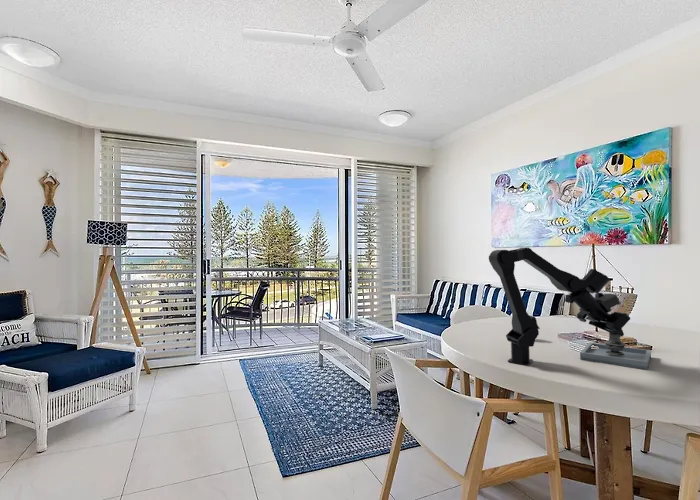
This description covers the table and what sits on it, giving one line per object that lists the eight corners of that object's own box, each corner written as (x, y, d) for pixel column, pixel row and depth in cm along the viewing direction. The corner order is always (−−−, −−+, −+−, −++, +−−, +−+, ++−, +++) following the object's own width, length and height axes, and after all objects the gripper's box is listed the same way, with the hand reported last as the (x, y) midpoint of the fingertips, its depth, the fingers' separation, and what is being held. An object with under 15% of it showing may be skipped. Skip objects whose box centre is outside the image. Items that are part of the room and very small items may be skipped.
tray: (647, 370, 115) (646, 362, 115) (580, 359, 127) (580, 352, 127) (650, 357, 128) (650, 350, 128) (590, 349, 140) (589, 342, 140)
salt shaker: (611, 350, 131) (610, 316, 131) (629, 354, 126) (628, 319, 126) (600, 352, 129) (600, 318, 129) (618, 356, 124) (618, 321, 124)
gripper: (624, 288, 118) (657, 322, 119) (584, 284, 137) (613, 313, 137) (601, 313, 118) (634, 347, 118) (564, 305, 136) (593, 334, 137)
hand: (618, 334), depth 128 cm, fingers closed on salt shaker, 4 cm apart
